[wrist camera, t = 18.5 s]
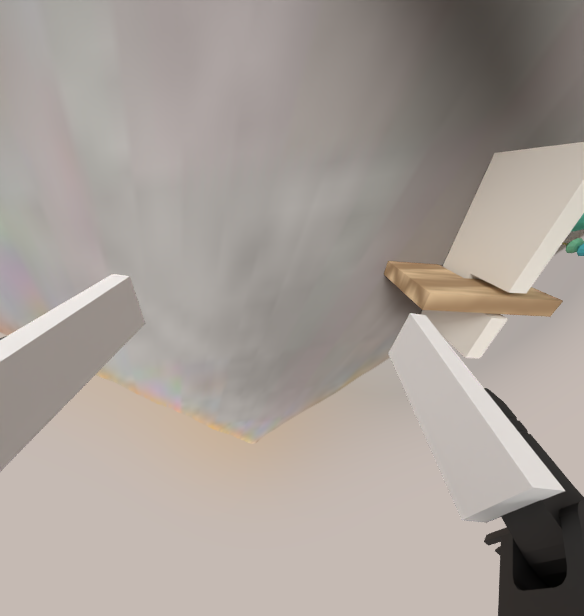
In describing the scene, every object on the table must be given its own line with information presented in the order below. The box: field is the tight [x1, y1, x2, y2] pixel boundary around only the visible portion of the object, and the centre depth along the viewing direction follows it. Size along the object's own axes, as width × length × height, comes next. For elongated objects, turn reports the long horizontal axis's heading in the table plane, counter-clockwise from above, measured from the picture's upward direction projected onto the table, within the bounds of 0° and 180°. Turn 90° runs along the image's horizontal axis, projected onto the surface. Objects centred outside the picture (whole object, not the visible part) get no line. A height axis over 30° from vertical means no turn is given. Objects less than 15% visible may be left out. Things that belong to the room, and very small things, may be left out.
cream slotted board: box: [420, 142, 584, 358], centre depth 31 cm, size 26×2×12 cm, turn 175°
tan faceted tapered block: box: [384, 261, 563, 317], centre depth 33 cm, size 2×18×12 cm, turn 85°
